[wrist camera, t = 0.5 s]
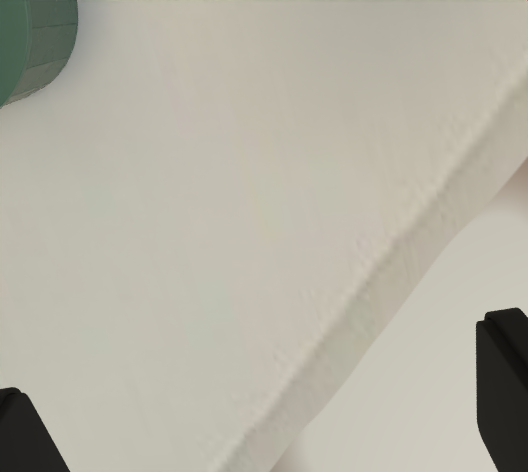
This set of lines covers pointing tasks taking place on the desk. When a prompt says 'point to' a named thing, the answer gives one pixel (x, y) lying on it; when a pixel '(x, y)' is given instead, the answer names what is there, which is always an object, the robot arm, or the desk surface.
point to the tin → (48, 44)
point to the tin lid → (13, 45)
